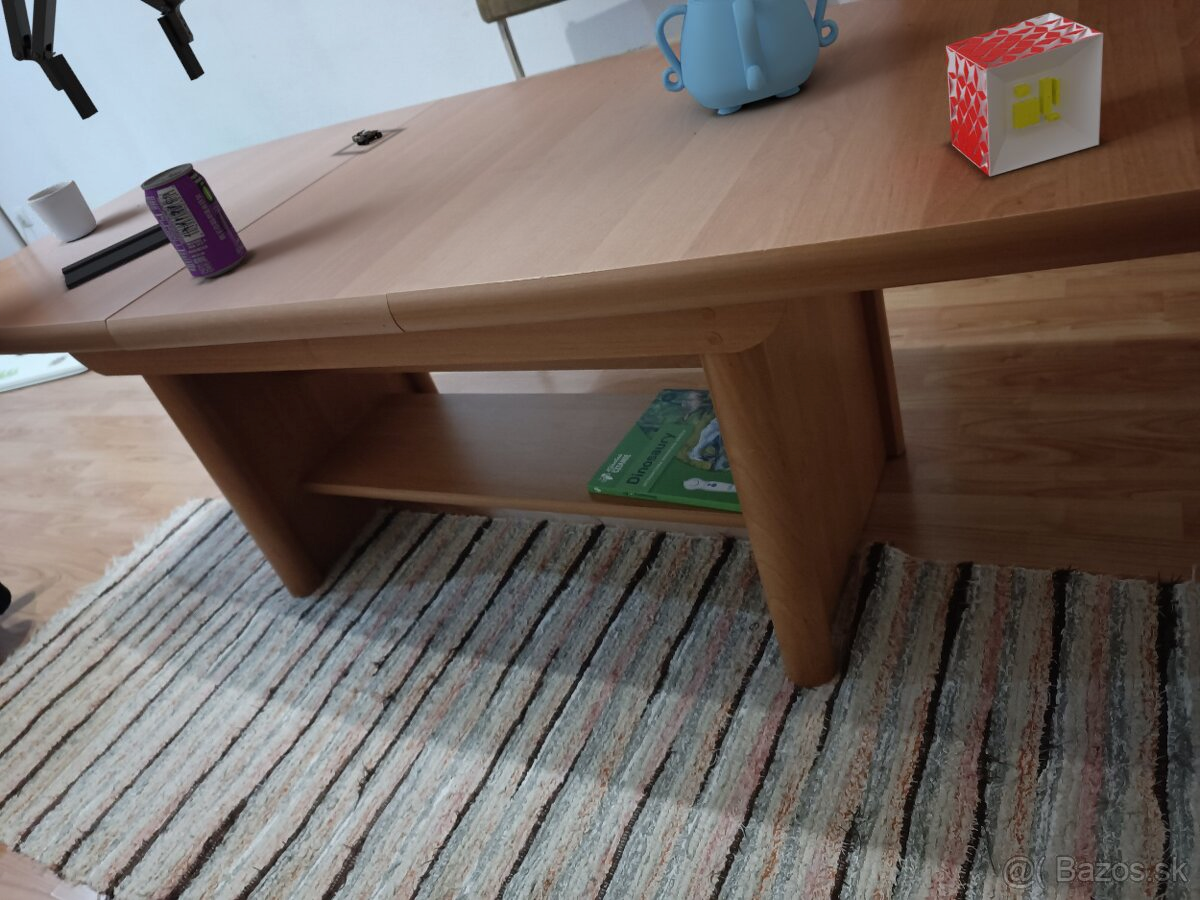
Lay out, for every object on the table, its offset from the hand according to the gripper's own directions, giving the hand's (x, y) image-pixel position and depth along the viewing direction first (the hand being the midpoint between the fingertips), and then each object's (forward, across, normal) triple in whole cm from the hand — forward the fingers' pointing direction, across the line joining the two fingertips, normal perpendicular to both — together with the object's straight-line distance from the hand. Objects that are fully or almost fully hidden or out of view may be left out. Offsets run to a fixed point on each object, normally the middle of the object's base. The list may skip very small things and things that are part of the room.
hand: (144, 97), depth 98 cm
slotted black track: (+20, +22, -18) cm, 35 cm away
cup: (+20, +42, -40) cm, 61 cm away
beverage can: (+20, +1, +4) cm, 20 cm away
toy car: (+20, -12, -35) cm, 42 cm away
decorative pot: (+20, -66, +4) cm, 69 cm away
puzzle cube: (+20, -80, +39) cm, 91 cm away
